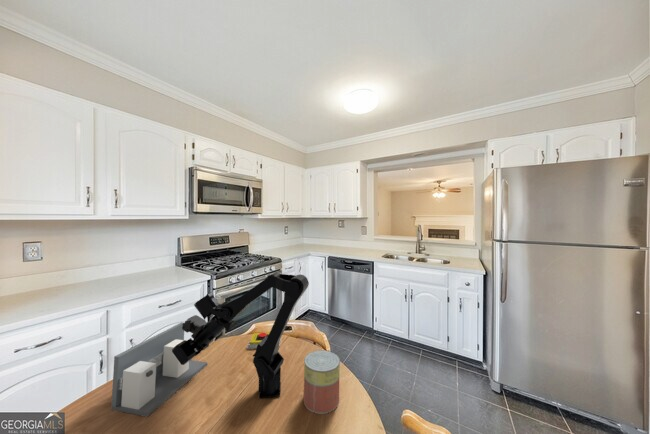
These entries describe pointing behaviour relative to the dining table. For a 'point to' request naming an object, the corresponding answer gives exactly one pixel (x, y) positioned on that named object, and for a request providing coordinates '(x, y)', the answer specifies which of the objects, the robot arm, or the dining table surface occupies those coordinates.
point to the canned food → (321, 381)
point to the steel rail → (157, 360)
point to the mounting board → (162, 383)
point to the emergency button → (256, 340)
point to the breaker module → (173, 361)
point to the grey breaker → (138, 385)
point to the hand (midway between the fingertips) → (184, 356)
